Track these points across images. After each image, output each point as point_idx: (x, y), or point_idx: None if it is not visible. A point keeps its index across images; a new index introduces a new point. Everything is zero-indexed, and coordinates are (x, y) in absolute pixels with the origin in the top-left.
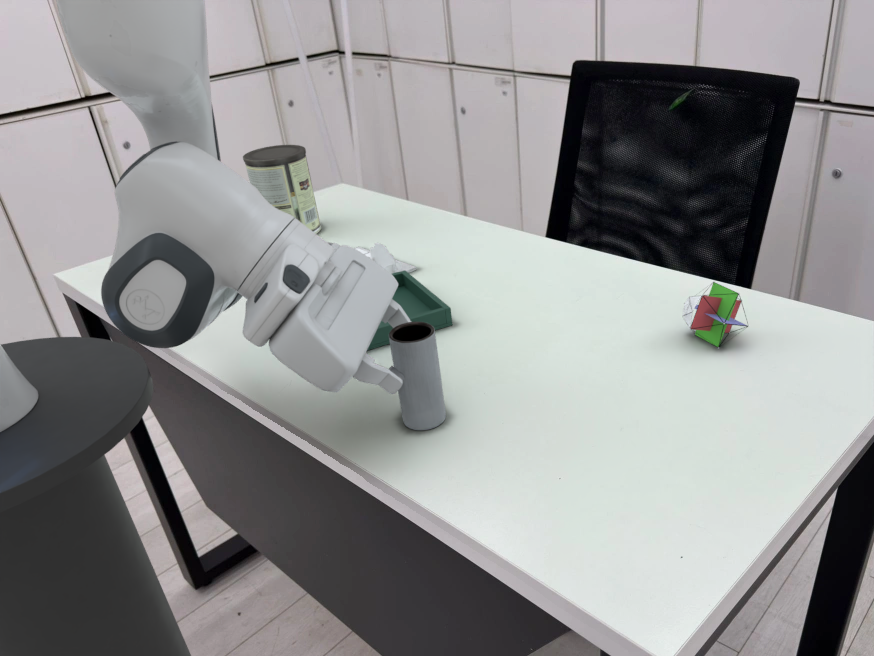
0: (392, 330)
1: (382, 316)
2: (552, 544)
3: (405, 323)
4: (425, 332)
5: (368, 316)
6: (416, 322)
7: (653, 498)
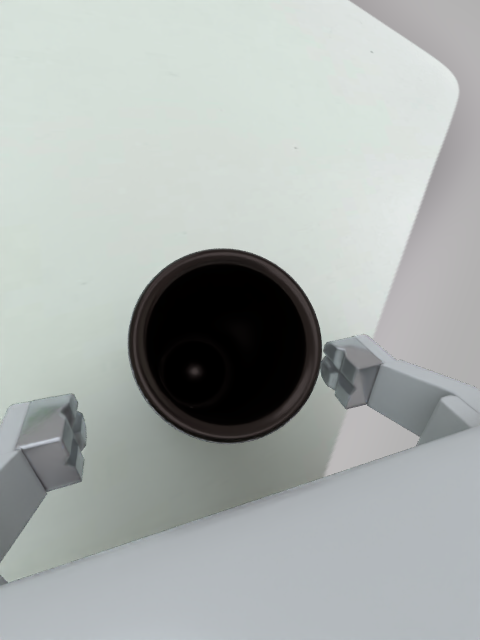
0: (234, 432)
1: (213, 517)
2: (394, 152)
3: (157, 398)
4: (159, 314)
5: (371, 553)
6: (138, 349)
7: (302, 60)
